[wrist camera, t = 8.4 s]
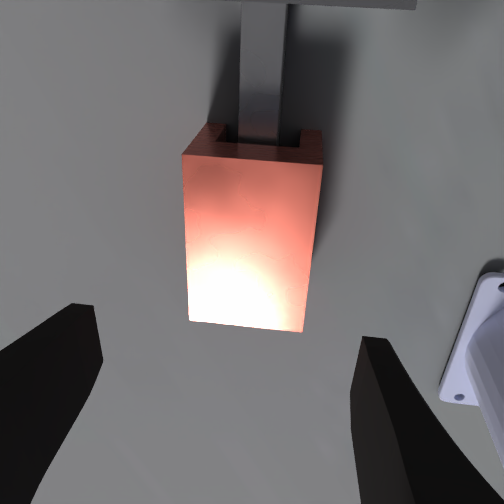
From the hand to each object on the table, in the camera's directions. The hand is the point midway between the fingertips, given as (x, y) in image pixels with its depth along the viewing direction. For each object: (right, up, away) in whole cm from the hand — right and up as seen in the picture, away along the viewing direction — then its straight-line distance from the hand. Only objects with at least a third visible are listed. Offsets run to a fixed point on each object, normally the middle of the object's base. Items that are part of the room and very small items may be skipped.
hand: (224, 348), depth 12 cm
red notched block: (+1, +5, +8) cm, 9 cm away
